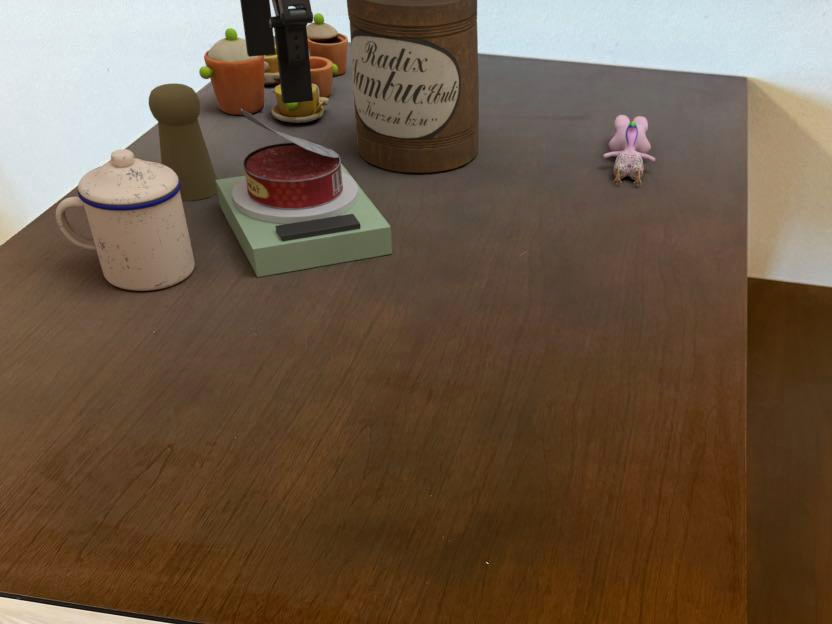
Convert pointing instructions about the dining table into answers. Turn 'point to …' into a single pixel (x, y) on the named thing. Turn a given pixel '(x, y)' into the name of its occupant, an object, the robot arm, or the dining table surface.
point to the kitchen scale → (304, 229)
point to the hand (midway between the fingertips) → (278, 77)
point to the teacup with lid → (133, 222)
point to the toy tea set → (274, 73)
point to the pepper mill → (183, 139)
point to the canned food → (292, 173)
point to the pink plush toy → (629, 147)
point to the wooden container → (415, 82)
